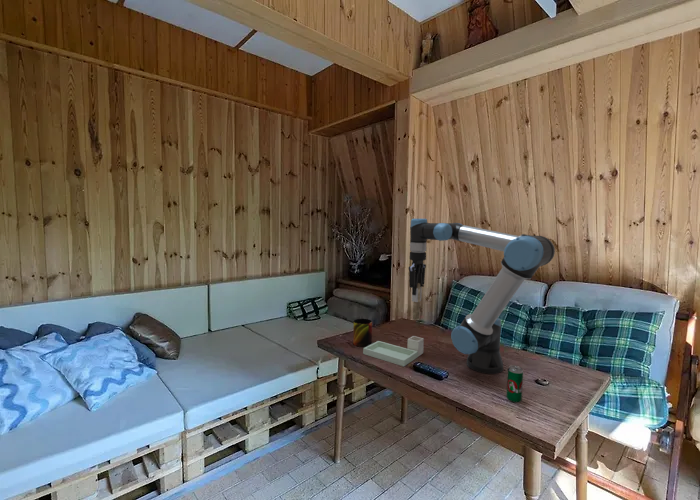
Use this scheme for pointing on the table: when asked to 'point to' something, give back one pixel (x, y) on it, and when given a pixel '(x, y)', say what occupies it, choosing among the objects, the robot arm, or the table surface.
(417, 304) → the dowel
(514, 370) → the soda can
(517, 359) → the table surface
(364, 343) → the mug
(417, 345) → the cup
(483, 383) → the table surface
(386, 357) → the tray
